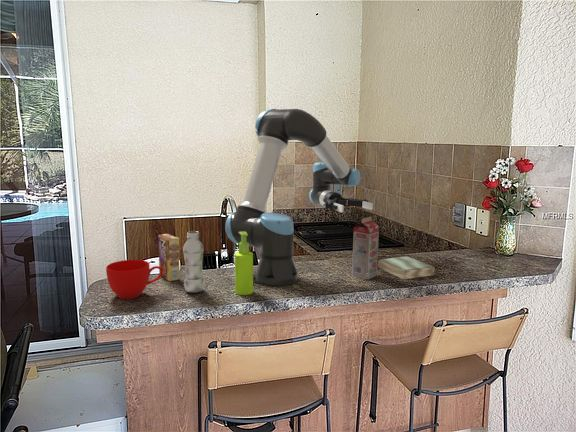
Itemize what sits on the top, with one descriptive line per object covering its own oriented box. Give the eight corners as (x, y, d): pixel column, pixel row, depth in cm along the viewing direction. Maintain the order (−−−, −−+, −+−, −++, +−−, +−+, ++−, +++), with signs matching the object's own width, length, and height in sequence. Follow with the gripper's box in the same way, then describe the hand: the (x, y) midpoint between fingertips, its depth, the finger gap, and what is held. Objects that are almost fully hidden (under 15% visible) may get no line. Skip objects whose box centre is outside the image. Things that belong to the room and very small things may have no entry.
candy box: (181, 279, 163) (179, 237, 161) (169, 281, 161) (168, 239, 158) (170, 273, 170) (168, 233, 167) (158, 275, 167) (157, 234, 165)
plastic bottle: (206, 294, 149) (204, 233, 145) (184, 295, 147) (183, 234, 144) (203, 287, 155) (202, 229, 152) (183, 289, 153) (181, 230, 150)
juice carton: (351, 275, 170) (354, 217, 166) (361, 271, 175) (363, 215, 171) (367, 279, 166) (370, 219, 162) (376, 275, 171) (379, 217, 167)
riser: (403, 279, 167) (404, 270, 166) (378, 267, 181) (378, 259, 180) (434, 275, 172) (434, 266, 172) (407, 263, 187) (407, 255, 186)
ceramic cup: (164, 298, 144) (163, 268, 143) (107, 304, 139) (105, 273, 137) (161, 285, 156) (160, 257, 155) (108, 290, 151) (106, 261, 149)
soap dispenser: (249, 287, 156) (249, 229, 152) (254, 294, 149) (254, 234, 146) (232, 289, 154) (232, 230, 150) (237, 296, 148) (236, 235, 144)
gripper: (355, 206, 206) (383, 214, 187) (305, 210, 196) (329, 219, 177) (356, 190, 205) (384, 196, 186) (305, 193, 195) (330, 200, 176)
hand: (357, 207), depth 181 cm, fingers open, 13 cm apart
